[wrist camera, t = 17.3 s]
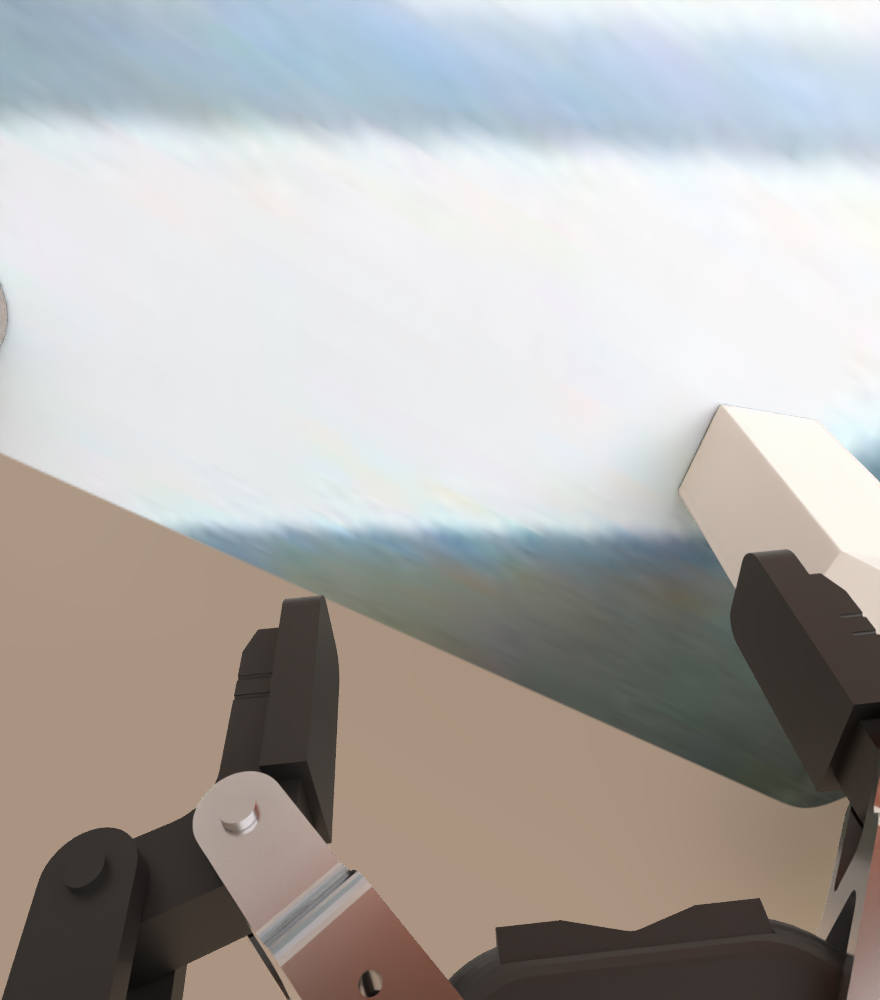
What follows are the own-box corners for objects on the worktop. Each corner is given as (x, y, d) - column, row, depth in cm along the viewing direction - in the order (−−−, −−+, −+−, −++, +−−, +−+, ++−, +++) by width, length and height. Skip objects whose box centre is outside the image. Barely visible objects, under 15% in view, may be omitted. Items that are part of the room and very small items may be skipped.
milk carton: (676, 491, 51) (808, 715, 35) (719, 401, 47) (889, 610, 31) (767, 504, 52) (932, 725, 37) (816, 418, 48) (1026, 625, 33)
